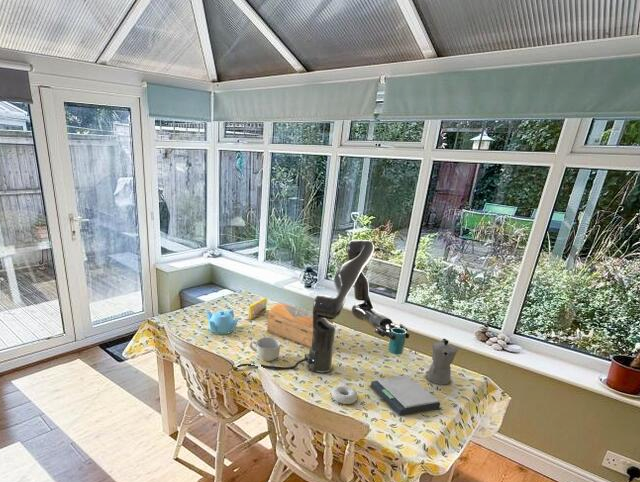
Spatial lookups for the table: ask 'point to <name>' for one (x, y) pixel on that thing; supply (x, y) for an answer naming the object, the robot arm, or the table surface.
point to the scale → (405, 395)
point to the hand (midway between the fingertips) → (401, 337)
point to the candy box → (257, 308)
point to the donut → (344, 399)
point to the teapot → (222, 321)
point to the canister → (397, 341)
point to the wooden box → (291, 323)
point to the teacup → (266, 348)
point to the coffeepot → (441, 362)
